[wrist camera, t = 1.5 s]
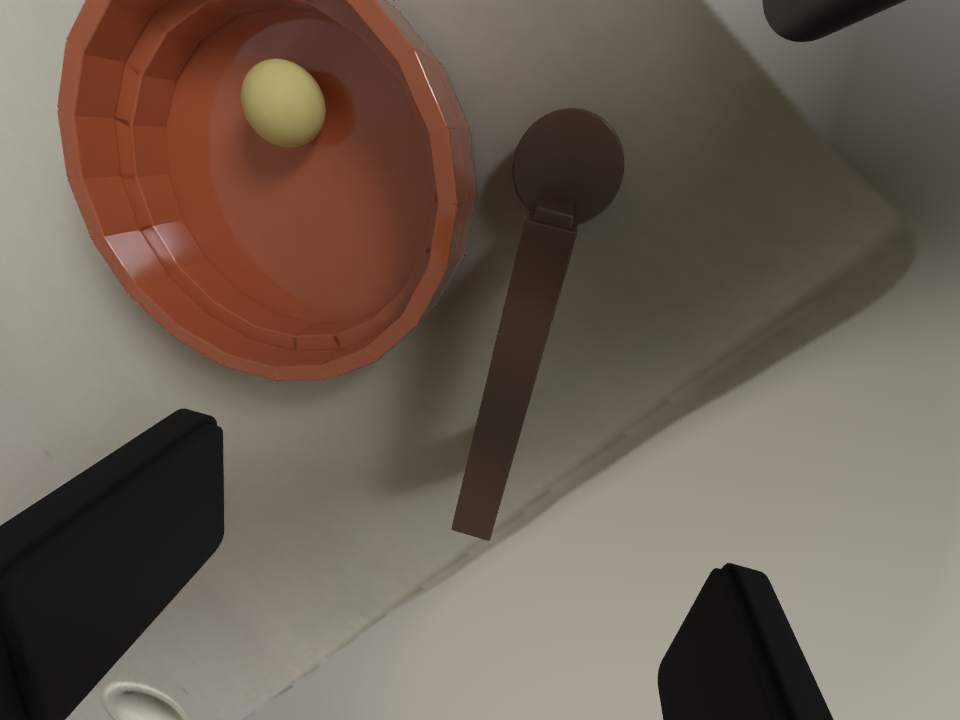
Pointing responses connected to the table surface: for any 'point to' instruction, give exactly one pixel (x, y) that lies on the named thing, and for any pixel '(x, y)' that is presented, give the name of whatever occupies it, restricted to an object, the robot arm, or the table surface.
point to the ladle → (535, 289)
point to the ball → (283, 103)
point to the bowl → (268, 177)
